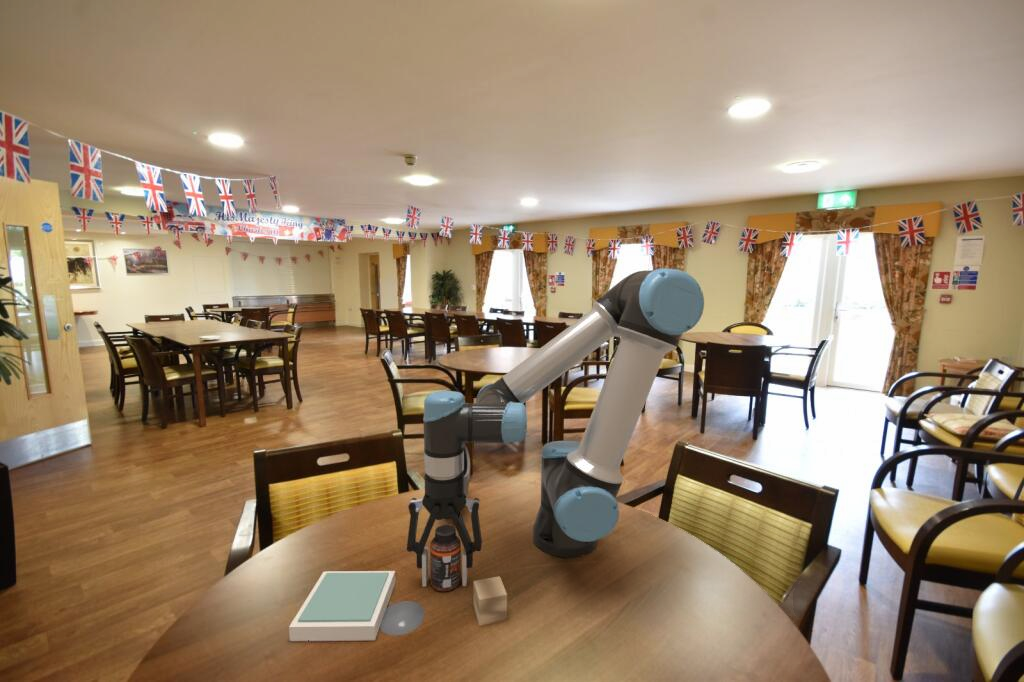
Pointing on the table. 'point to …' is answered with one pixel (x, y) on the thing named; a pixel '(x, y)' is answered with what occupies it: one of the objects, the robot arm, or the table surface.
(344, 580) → the podium
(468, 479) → the grey hollow oval piece
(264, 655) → the table surface
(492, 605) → the oak block
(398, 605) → the coaster
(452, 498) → the robot arm
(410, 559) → the table surface
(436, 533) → the supplement bottle
